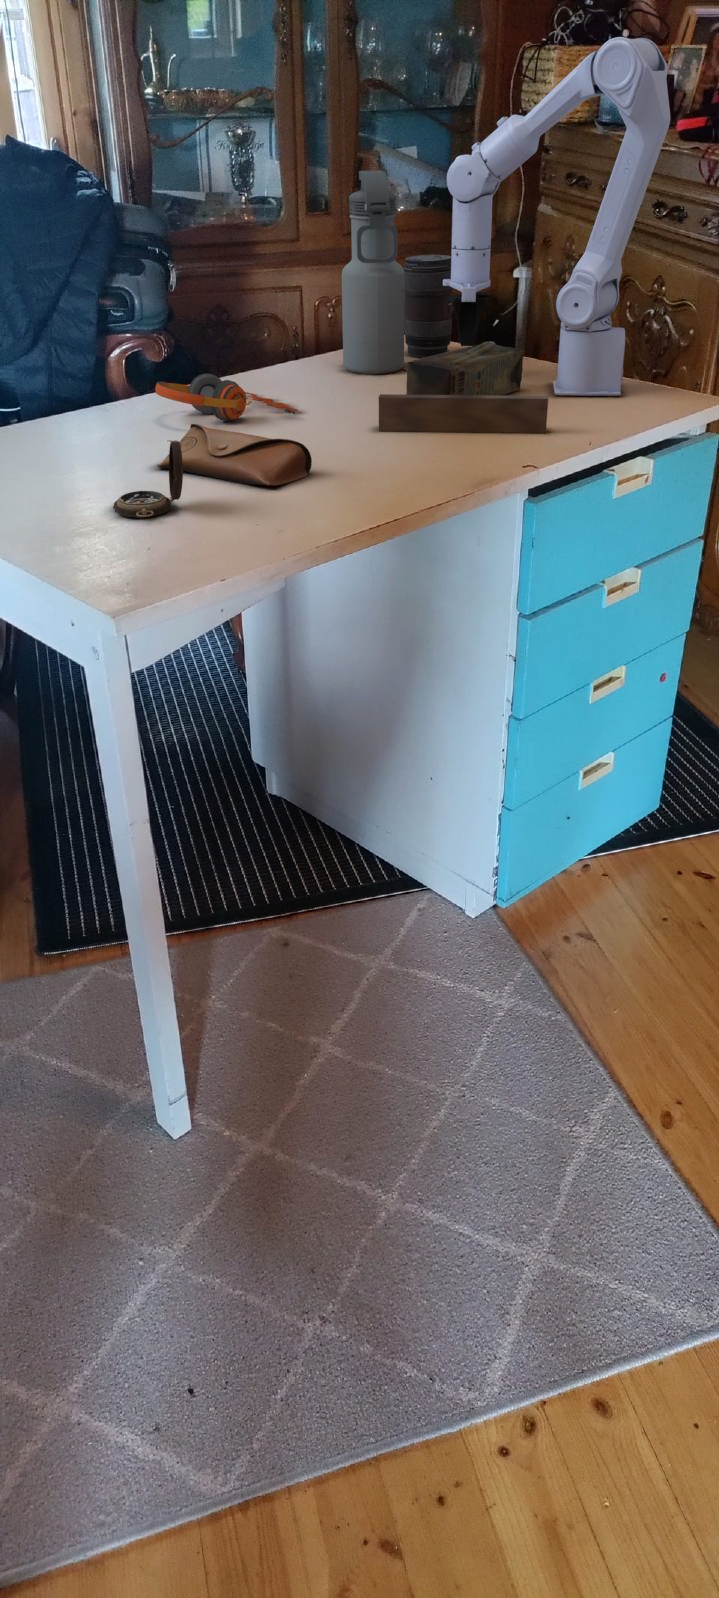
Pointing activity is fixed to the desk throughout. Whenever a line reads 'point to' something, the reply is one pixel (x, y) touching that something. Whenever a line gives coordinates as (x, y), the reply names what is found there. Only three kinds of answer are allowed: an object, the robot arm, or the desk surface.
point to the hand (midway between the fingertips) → (467, 345)
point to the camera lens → (427, 305)
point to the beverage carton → (467, 371)
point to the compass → (151, 500)
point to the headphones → (214, 396)
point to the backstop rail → (463, 413)
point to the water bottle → (373, 282)
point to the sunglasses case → (242, 457)
